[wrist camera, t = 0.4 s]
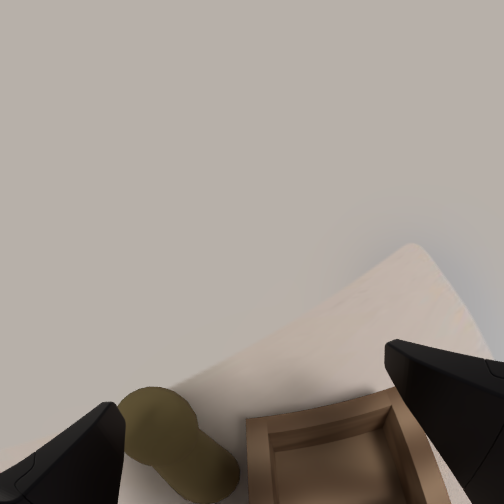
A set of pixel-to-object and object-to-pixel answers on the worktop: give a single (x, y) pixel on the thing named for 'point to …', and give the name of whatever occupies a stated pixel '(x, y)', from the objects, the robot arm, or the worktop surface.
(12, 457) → the worktop surface
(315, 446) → the socket block
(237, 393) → the worktop surface
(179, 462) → the cork
